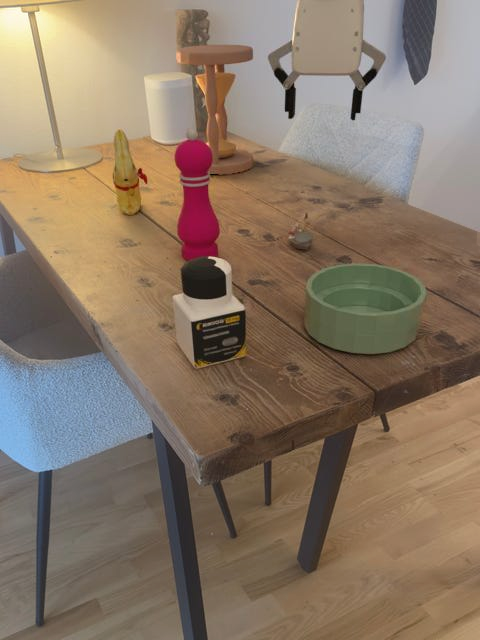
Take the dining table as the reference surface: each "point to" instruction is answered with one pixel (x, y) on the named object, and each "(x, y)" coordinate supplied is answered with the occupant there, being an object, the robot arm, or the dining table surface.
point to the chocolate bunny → (126, 176)
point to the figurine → (300, 235)
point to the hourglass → (219, 101)
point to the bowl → (364, 308)
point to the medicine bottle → (209, 313)
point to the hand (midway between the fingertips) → (322, 117)
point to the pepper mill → (196, 199)
